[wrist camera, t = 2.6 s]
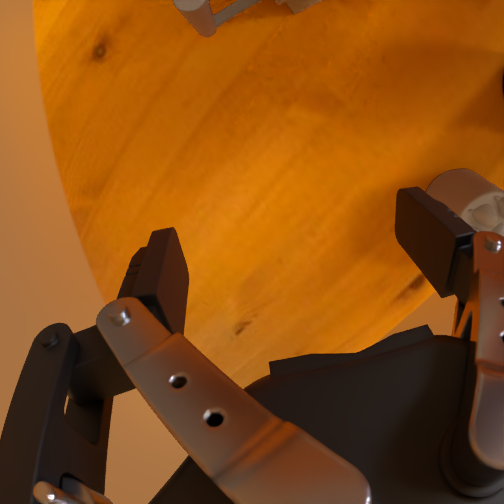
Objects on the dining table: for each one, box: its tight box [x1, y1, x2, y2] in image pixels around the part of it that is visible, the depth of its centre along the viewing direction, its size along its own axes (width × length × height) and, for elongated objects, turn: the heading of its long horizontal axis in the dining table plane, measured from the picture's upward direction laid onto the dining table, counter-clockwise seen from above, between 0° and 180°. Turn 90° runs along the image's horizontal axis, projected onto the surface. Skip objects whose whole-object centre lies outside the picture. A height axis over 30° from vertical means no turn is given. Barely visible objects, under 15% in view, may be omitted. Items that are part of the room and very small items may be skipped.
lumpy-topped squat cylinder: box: [426, 169, 504, 237], centre depth 33 cm, size 10×13×9 cm
